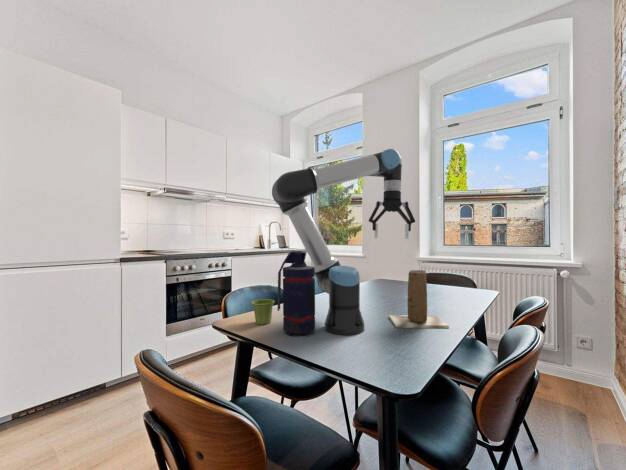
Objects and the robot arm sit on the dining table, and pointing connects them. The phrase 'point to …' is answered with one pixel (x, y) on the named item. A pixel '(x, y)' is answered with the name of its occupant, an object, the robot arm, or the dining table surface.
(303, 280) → the grenade
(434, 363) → the dining table surface
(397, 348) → the dining table surface
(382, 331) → the dining table surface
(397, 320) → the letter board
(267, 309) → the plant pot
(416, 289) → the block
